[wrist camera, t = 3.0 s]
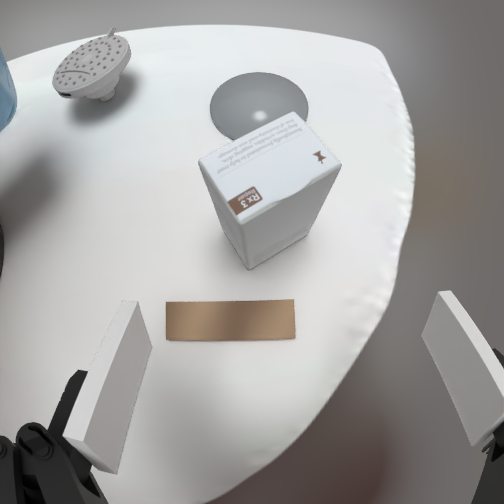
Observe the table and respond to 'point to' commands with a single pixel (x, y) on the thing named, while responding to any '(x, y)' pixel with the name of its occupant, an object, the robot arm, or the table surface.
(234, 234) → the skincare box
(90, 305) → the table surface
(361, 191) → the table surface
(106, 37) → the showerhead
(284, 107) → the coaster
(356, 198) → the table surface
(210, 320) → the walnut board
